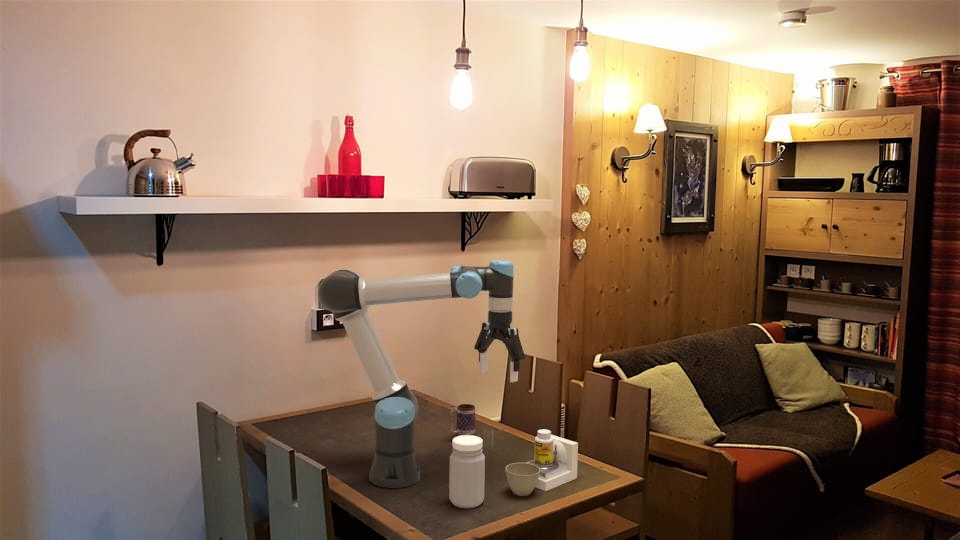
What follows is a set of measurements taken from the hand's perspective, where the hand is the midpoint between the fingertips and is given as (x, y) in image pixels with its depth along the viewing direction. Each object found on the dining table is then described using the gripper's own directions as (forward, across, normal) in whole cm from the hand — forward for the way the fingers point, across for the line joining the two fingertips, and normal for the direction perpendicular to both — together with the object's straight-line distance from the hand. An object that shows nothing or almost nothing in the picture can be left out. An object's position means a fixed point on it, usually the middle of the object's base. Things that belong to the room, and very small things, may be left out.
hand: (498, 377), depth 240 cm
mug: (+28, +24, -7) cm, 38 cm away
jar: (+28, -16, +27) cm, 42 cm away
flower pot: (+28, -22, +11) cm, 37 cm away
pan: (+25, -19, -1) cm, 32 cm away
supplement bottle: (+23, -19, -1) cm, 30 cm away
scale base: (+28, -19, -2) cm, 34 cm away
